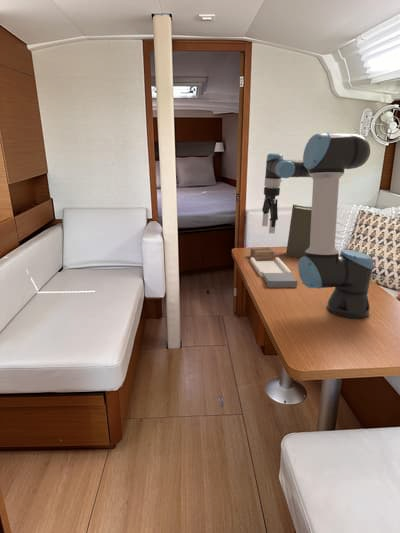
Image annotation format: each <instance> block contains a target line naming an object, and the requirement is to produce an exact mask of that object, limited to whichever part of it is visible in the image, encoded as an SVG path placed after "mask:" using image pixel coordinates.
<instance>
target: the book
mask: <svg viewBox="0 0 400 533" xmlns="http://www.w3.org/2000/svg"><path fill="white" fill-rule="evenodd" d="M311 214H312V206H305V205H304V206H303V205H298V204H292V209H291V216H290V223H289V231H288V238H287V246H286V256H287V257H296V258H299V259H300V258H302V257H304V256H305V251H306V250H307V249H308V248H309V247H310V233H311Z"/></svg>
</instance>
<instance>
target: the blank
mask: <svg viewBox="0 0 400 533" xmlns="http://www.w3.org/2000/svg"><path fill="white" fill-rule="evenodd" d="M249 251H250V254H249V255H250V257H254V259H255V260H256V261H274V253H275V251H273V249H271V248H270V247H268V246H267V247H266V246H265V247H250V250H249Z"/></svg>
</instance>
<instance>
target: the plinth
mask: <svg viewBox="0 0 400 533" xmlns="http://www.w3.org/2000/svg"><path fill="white" fill-rule="evenodd" d="M262 279H263V280H264V281H265V285H266V286H267V288H297V287H298V279H296V278H295V276H294V275H293V274H291V273H263V276H262Z"/></svg>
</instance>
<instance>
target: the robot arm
mask: <svg viewBox="0 0 400 533" xmlns="http://www.w3.org/2000/svg"><path fill="white" fill-rule="evenodd" d="M370 155H371V146H370V143H369V141H368V140H367V139H366V138H365V137H364V136H362V135H359V134H355V133H337V132H335V133H333V132H324V133H316V134H313V135H312V136H311V137H310V138H309V139H308V141H307V142H306V145H305V147H304V151H303V156H302V159H284V155H283V153H268V154H267V155H266V156H267V157H266V161H265V164H266V165H265V176H264V177H265V178H264V184H263V185H264V188H263V195H264V199H263V200H264V201H263V205H262V210H261V211H262V221H261V223H262V224H261V227H268V224H269V229H268V234H275V233H276V223H277V221H278V220H279V215H278V211H279V210H278V202H279V201H278V199H277V198H276V197H279V196H280V191H281V189H280V187H281V183H282V180H281V179H289V178H311V179H312V198H311V207H312V214H311V233H310V247H309V248H308V249H307V250H306V251H305V256H304V257H302V258H299V261H298V263H297V264H298V265H297V269H298V276H299V279H300V280H301V283H302V284H303V285H304V286H305V287H306V288H309V289H319V290H320V289H323V288H325V289H326V288H334V289H333V291H332V293H331V295H330V297H329V299H328V301H327V306H326V307H327V310H329V311H330V312H331V313H332V314H334V315H337V316H339V317H341V318H342V317H343V318H346V319H354V320H355V319H356V320H358V319H364V318H367V317H368V316H369V314H370V301H369V298H368V294H369V289H370V288H369V287H370V283H371V277H372V272H373V269H374V268H373V267H374V259H373V257H371V256H370V255H369V254H366V253H364V252H361V251H357V250H354V249H353V250H351V249H342V250H341V251H340V252H339V251H338V249H336V233H337V218H338V204H339V203H338V202H339V201H338V200H339V188H340V187H339V184H340V178H342V177H343V176H344V175H345V170H352V169H358V168H360V167H362V166H363V165H365V164H366V163H367V161H368V160H369V158H370ZM269 216H270V218H269Z"/></svg>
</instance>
